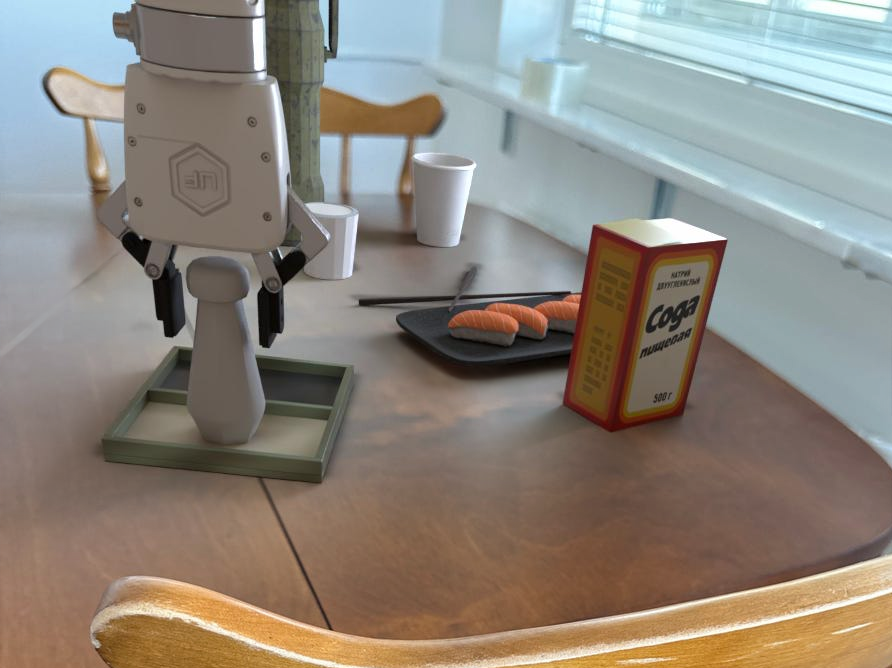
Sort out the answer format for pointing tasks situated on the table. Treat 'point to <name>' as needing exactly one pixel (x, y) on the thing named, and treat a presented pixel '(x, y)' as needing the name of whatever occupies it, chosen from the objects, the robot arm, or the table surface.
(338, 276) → the white faceted cup
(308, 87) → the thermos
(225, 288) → the salt shaker
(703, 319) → the baking soda box
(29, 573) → the table surface
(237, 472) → the sorting tray
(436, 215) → the dixie cup
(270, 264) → the robot arm
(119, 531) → the table surface
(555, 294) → the sushi plate
